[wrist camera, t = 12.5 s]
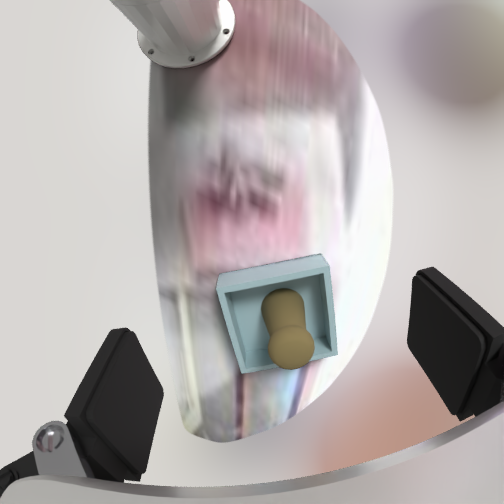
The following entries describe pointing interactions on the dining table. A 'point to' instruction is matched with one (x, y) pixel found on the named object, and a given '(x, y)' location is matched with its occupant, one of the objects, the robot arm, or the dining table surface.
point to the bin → (254, 291)
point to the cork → (287, 329)
